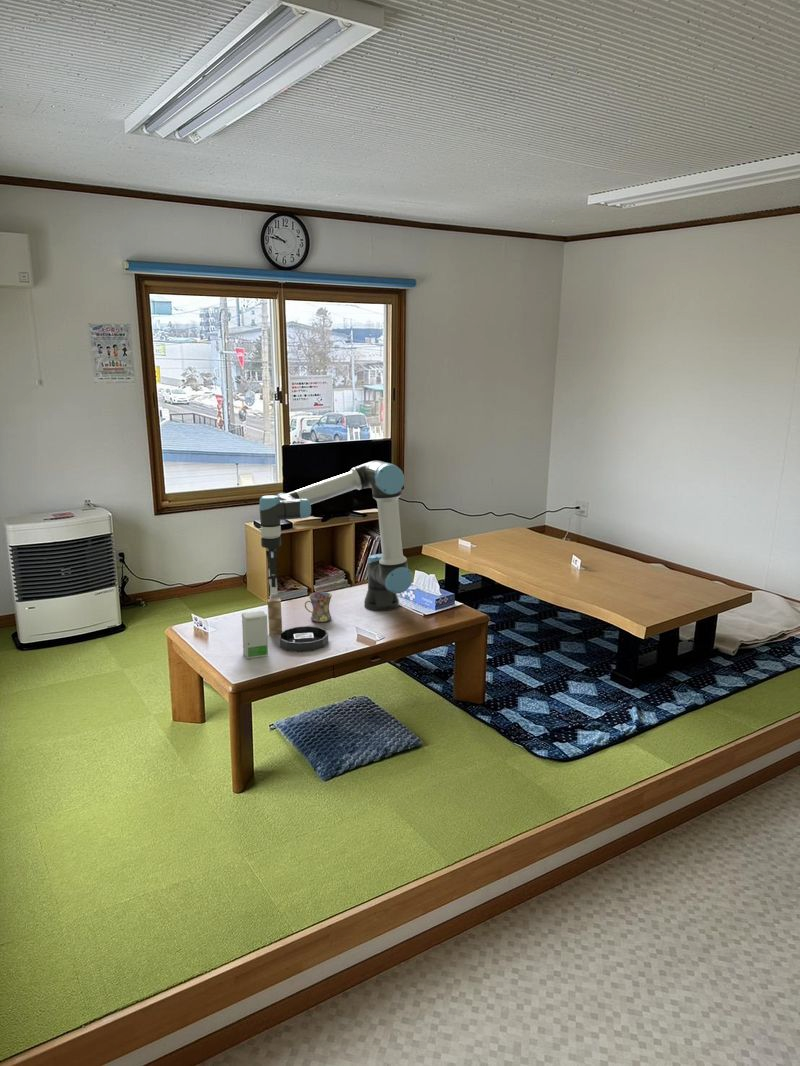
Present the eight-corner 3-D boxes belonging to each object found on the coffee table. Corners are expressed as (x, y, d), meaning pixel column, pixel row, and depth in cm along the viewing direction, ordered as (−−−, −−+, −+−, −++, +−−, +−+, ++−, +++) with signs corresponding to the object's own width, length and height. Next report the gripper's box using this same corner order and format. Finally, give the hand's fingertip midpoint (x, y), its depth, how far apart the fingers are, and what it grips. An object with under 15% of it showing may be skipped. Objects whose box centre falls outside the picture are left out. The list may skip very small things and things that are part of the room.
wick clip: (313, 638, 288) (312, 632, 287) (314, 643, 283) (314, 637, 282) (293, 640, 286) (293, 634, 286) (294, 645, 281) (293, 638, 281)
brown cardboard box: (281, 632, 297) (280, 598, 294) (282, 634, 294) (280, 600, 291) (269, 633, 296) (267, 599, 293) (269, 635, 293) (267, 601, 290)
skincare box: (246, 659, 269) (244, 618, 266) (242, 653, 275) (240, 612, 272) (269, 655, 273) (267, 615, 269) (265, 649, 279) (263, 609, 275)
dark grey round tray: (325, 633, 295) (324, 624, 294) (330, 649, 278) (330, 640, 277) (278, 636, 292) (278, 628, 291) (280, 654, 274) (280, 645, 273)
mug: (325, 614, 317) (324, 590, 314) (336, 620, 309) (335, 596, 307) (300, 620, 310) (299, 595, 308) (310, 626, 303) (310, 601, 300)
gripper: (260, 529, 297) (262, 581, 302) (261, 544, 273) (264, 599, 278) (279, 529, 299) (281, 580, 303) (282, 543, 275) (284, 598, 279)
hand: (273, 589), depth 291 cm, fingers open, 13 cm apart
